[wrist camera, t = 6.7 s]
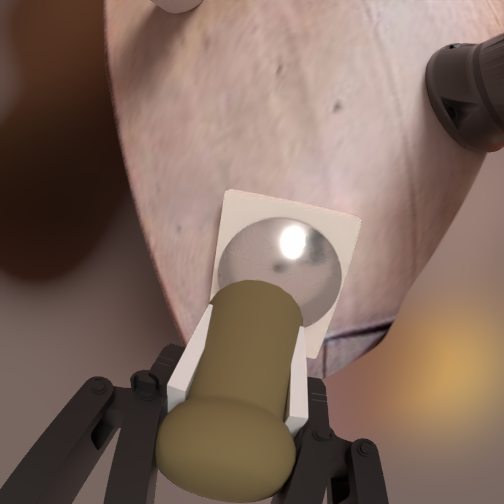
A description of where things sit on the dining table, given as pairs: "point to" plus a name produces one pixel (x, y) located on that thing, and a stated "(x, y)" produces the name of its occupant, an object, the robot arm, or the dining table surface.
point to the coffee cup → (177, 5)
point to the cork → (236, 400)
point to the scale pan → (285, 262)
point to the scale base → (261, 206)
